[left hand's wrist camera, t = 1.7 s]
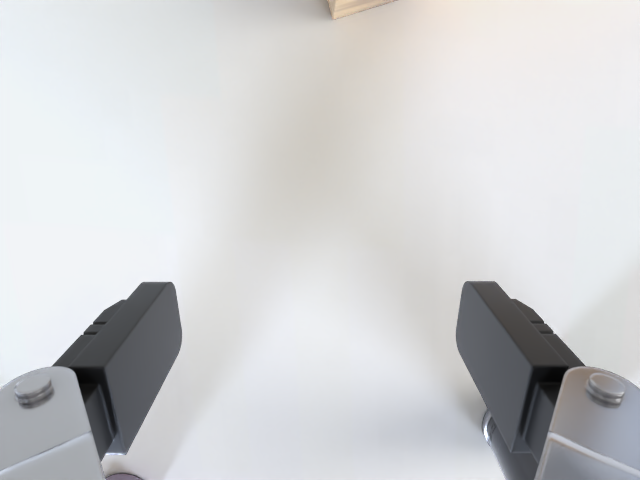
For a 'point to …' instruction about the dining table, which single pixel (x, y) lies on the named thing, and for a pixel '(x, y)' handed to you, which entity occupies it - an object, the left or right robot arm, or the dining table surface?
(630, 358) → the dining table surface
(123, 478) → the cat figurine
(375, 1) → the bar
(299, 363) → the dining table surface
